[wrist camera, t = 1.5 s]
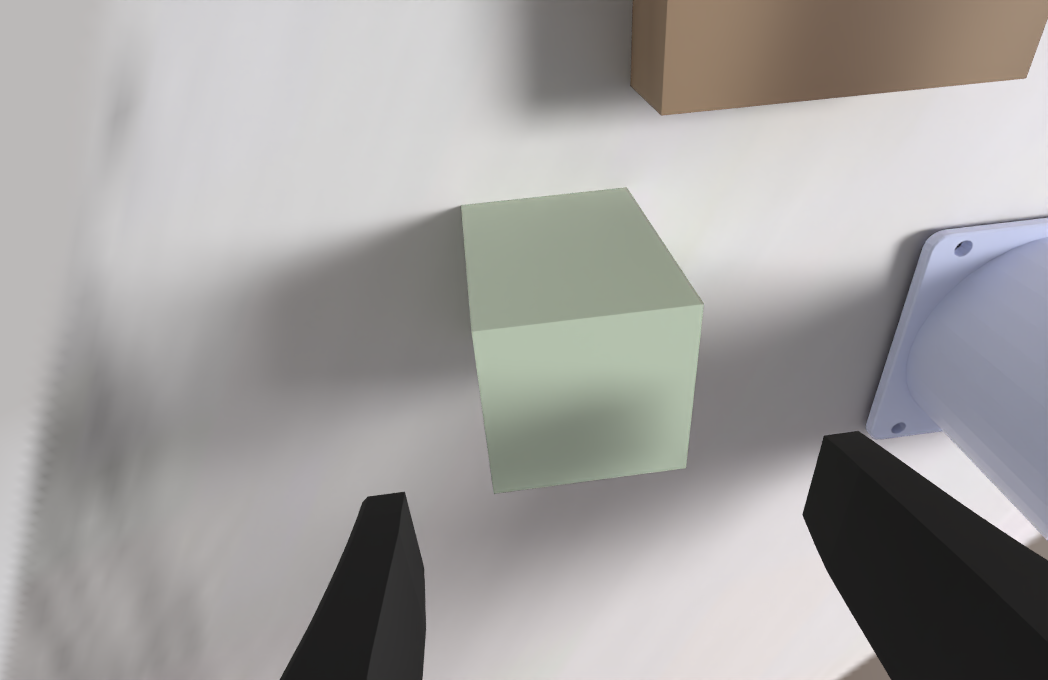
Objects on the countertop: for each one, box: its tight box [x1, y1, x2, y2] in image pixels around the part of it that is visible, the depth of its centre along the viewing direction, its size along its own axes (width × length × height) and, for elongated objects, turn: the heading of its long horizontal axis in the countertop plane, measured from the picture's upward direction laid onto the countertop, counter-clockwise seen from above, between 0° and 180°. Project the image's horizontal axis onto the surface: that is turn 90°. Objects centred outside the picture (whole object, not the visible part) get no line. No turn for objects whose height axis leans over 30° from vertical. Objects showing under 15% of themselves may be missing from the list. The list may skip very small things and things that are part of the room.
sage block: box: [461, 187, 704, 494], centre depth 16 cm, size 4×4×6 cm
